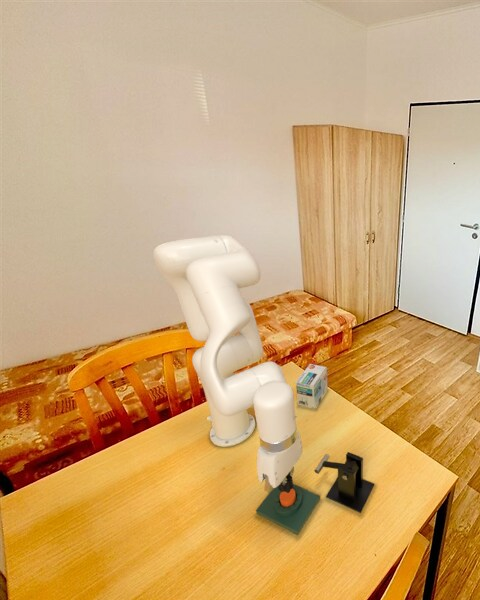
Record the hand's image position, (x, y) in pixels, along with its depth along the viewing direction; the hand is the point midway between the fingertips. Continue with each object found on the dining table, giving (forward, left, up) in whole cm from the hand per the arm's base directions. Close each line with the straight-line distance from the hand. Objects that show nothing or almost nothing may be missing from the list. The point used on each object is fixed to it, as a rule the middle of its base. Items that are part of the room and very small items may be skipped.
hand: (285, 487), depth 76 cm
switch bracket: (+12, +9, -8) cm, 17 cm away
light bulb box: (-17, +34, -8) cm, 39 cm away
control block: (0, 0, -8) cm, 8 cm away
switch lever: (+9, +9, 0) cm, 13 cm away
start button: (0, 0, -4) cm, 4 cm away
